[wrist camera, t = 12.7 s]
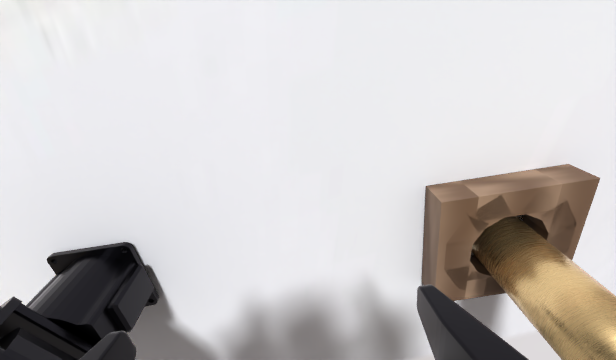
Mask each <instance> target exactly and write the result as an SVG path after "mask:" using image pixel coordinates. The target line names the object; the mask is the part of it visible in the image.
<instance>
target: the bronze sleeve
mask: <svg viewBox="0 0 616 360" xmlns="http://www.w3.org/2000/svg"><path fill="white" fill-rule="evenodd" d="M471 251H472V253H473V254H474V255H475V256H476V257H477V259H478V260H479V261H480V262H481V263H482V265H483V266H484V267H485V268H486V269H487V271H488V272H489V273H490V274H491V275H492V277H493V278H494V279H495V280H496V281H497V283H498V284H499V285H500V286H501V287H502V288H503V290H504V291H505V292H506V293H507V294H508V296H509V297H510V298H511V299H512V300H513V302H514V303H515V304H516V305H517V306H518V308H519V309H520V310H521V311H522V312H523V314H524V315H525V316H526V317H527V318H528V320H529V321H530V322H531V323H532V324H533V326H534V327H535V328H536V329H537V330H538V332H539V333H540V334H541V335H542V336H543V338H544V339H545V340H546V341H547V342H548V344H549V345H550V346H551V347H552V348H553V350H554V351H555V352H556V353H557V354H558V356H559V357H560V358H561V359H562V360H616V296H615V295H614V294H612V293H611V292H610V291H609V290H607V289H606V288H605V287H604V286H603V285H601V284H600V283H599V282H598V281H596V280H595V279H594V278H593V277H591V276H590V275H589V274H588V273H586V272H585V271H584V270H583V269H581V268H580V267H579V266H578V265H576V264H575V263H574V262H573V261H571V260H570V259H569V258H568V257H567V256H565V255H564V254H563V253H562V252H560V251H559V250H558V249H557V248H555V247H554V246H553V245H552V244H550V243H549V242H548V241H547V240H545V239H544V238H543V237H542V236H540V235H539V234H538V233H537V232H535V231H534V230H533V229H532V228H530V227H529V226H528V225H527V224H526V223H524V222H523V221H522V220H521V219H519V218H518V217H517V216H511V217H505V218H503V219H501V220H499V221H498V222H496V223H494V224H493V225H491V226H489V227H487V228H486V229H484V231H483V232H482V233H481V234H480V236H479V237H478V238H477V240H476V241H475V242H474V243H473V245H472V250H471Z"/></svg>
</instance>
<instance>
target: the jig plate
mask: <svg viewBox="0 0 616 360" xmlns="http://www.w3.org/2000/svg"><path fill="white" fill-rule="evenodd" d="M599 180H600V178H599V177H596V176H594V175H592V174H590V173H587V172H585V171H583V170H581V169H578V168H576V167H574V166H572V165H569V164H566V165H560V166H553V167H547V168H540V169H534V170H527V171H521V172H514V173H508V174H501V175H495V176H488V177H482V178H475V179H469V180H462V181H456V182H449V183H443V184H436V185H430V186H426V198H425V220H424V242H423V264H422V283H423V285H433V286H435V287H436V288H437V289H438V290H440V291H441V292H442V293H444V294H445V295H446V296H447V297H449V298H450V299H451V300H453V301H456V300H463V299H469V298H476V297H482V296H489V295H496V294H502V293H506V292H505V291H504V290H503V288H502V287H501V286H500V285H499V284H498V283H497V281H496V280H495V279H494V278H493V277H492V275H491V274H490V273H489V272H488V271H487V269H486V268H485V267H484V266H483V265H482V263H481V262H480V261H479V260H478V259H477V257H476V256H473V255H471V250H472V245H473V243H474V242H475V241H476V240H477V238H478V237H479V236H480V234H481V233H482V232H483V231H484V229H486V228H487V227H489V226H491V225H493V224H494V223H496V222H498V221H499V220H501V219H503V218H505V217H511V216H517V215H524V219H523V222H524V223H526V224H527V225H528V226H529V227H530V228H532V229H533V230H534V231H535V232H537V233H538V234H539V235H540V236H542V237H543V238H544V239H545V240H547V241H548V242H549V243H550V244H552V245H553V246H554V247H555V248H557V249H558V250H559V251H560V252H562V253H563V254H564V255H565V256H567V257H568V258H569V259H570V260H571V261H572V259H573V256H574V253H575V250H576V247H577V244H578V241H579V239H580V236H581V233H582V230H583V227H584V224H585V221H586V218H587V215H588V212H589V209H590V206H591V204H592V201H593V198H594V195H595V192H596V189H597V186H598V183H599Z"/></svg>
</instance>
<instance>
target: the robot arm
mask: <svg viewBox="0 0 616 360" xmlns="http://www.w3.org/2000/svg"><path fill="white" fill-rule="evenodd" d="M124 248H125V249H127V250H125V249H124ZM47 262H48V264H49V265H50V266H51V268H52V269H53V271H54V272H55V274H56V276H55V277H54V278H53V279H52V280H51V281H50V282H49V283H48V284H47V285H46V286H45V287H44V288H43V289H42V290H41V291H40V292H39V293H38V294H37V295H36V296H35V297H34V298H33V299H32V300H31V301H30V302H29V303H28V304H27V305H26V306H25V305H23V304H22V303H21V302H22V301H20V300H19V299H17V298H15V297H12V298H11V299H9V300H8V301H7V302H5V303H4V304H3V305H1V306H0V360H135V356H136V347H135V345H134V344H133V342H132V341H131V339H130V337H129V336H128V334H127V332H130V331H131V330H132V329H133V327H134V325H135V323H136V321H137V319H138V318H139V316H140V314H141V312H142V310H143V308H144V306H149V305H154V304H156V303H157V301H158V299H159V296H158V294H157V292H156V290H155V288H154V286H153V284H152V282H151V280H150V278H149V276H148V274H147V272H146V270H145V268H144V267H143V265H142V263H141V261H140V259H139V257H138V255H137V253H136V251H135V249H134V248H133V246H132V245H131V244H130V243H127V242H123V243H116V244H110V245H103V246H97V247H90V248H84V249H77V250H71V251H64V252H58V253H53V254H51V255H50V256H49V257H48V258H47ZM417 309H418V313H419V316H420V319H421V321H422V324H423V327H424V330H425V333H426V335H427V338H428V341H429V344H430V347H431V349H432V352H433V355H434V358H435V360H528V359H527V358H526V357H525V356H523V355H522V354H521V353H519V352H518V351H517V350H516V349H514V348H513V347H512V346H510V345H509V344H508V343H507V342H505V341H504V340H503V339H501V338H500V337H499V336H498V335H496V334H495V333H494V332H492V331H491V330H490V329H489V328H487V327H486V326H485V325H483V324H482V323H481V322H480V321H478V320H477V319H476V318H474V317H473V316H472V315H471V314H469V313H468V312H467V311H465V310H464V309H463V308H462V307H460V306H459V305H458V304H456V303H455V302H454V301H453V300H451V299H450V298H449V297H447V296H446V295H445V294H444V293H442V292H441V291H440V290H438V289H437V288H436V287H435V286H433V285H423V286H419V287H418V290H417Z"/></svg>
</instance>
